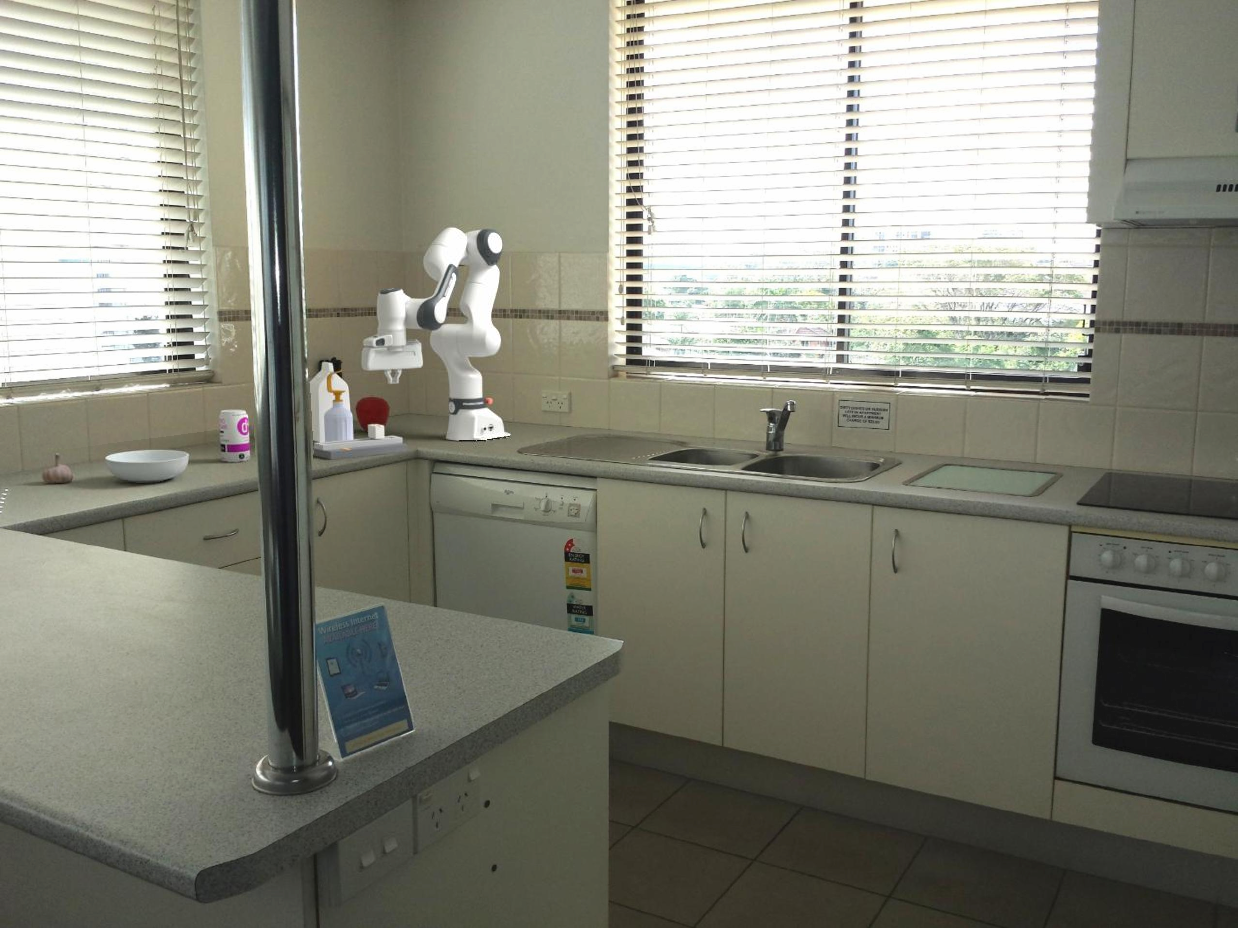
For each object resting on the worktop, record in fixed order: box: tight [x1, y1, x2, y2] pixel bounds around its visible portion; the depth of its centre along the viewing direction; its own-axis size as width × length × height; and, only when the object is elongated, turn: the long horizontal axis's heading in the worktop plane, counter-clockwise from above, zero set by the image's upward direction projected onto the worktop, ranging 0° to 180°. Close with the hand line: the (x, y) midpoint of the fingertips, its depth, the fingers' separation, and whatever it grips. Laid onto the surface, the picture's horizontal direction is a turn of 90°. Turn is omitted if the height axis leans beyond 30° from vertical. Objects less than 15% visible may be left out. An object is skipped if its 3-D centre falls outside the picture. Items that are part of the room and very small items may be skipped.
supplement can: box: [218, 409, 251, 463], centre depth 338 cm, size 8×8×15 cm
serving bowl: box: [104, 449, 190, 484], centre depth 305 cm, size 21×21×7 cm
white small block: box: [367, 424, 385, 440], centre depth 358 cm, size 3×5×6 cm, turn 40°
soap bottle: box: [324, 369, 354, 442], centre depth 370 cm, size 9×9×25 cm
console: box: [312, 435, 408, 460], centre depth 355 cm, size 27×14×4 cm, turn 130°
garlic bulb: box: [41, 453, 74, 484], centre depth 301 cm, size 8×7×8 cm
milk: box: [309, 361, 351, 443], centre depth 384 cm, size 12×12×26 cm
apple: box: [354, 394, 391, 432], centre depth 403 cm, size 12×12×13 cm
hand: (393, 383), depth 360 cm, fingers closed
